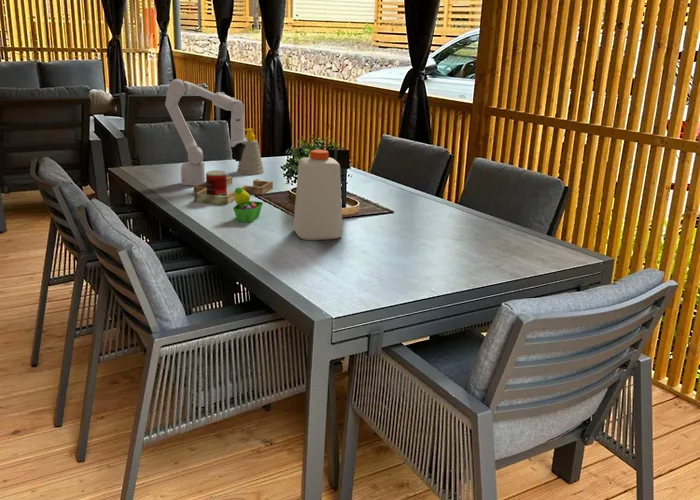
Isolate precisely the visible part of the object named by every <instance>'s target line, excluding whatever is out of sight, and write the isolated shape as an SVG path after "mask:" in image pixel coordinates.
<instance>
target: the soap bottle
mask: <svg viewBox="0 0 700 500" xmlns="http://www.w3.org/2000/svg"><path fill="white" fill-rule="evenodd" d="M245 131H247V133H246V134H245V137H246V140H247V142H243V143H242V144H246V146H245V148H244V151H243V154H242V159H241V161H238V164H237V165H238V166H237V170H236V171H237V173H238V175H244V176H258V175H262V174H264V172H265V170H264V165H263V161H262V156H261V150H260V146H259V142H258V140H257V139H256V135H255V134H254V132H253V128H245Z"/></svg>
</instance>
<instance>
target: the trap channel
mask: <svg viewBox="0 0 700 500" xmlns="http://www.w3.org/2000/svg"><path fill="white" fill-rule="evenodd" d="M226 179H227V187H228V186H230V185H232V184H233V176H228V177H226ZM273 183H274V181H268V180H259V179H258V178H255V179H254V180H252V185H243V186H241V187H240V188H242V189H243V190H244V191H246V192H247V193H248V194H249V195H250V194H251V195H258V196H259V195H260V196H263V195H265V194H267V193H268V192H270V191H271V190H273V189H274V187H273V186H274V185H273ZM234 192H235V190H234V191H232V192H230V193H228V194H227V195H226V196H218V195H208V194H207V187H206V182H204V183H202V184H200V185H198V186H193V195H194V196H193V199H194V200H193V202H195V203H203V204H205V203H206V204H207V203H208V204H216V205H225V206H227V205H229V204H231V203H232V202H233V201H235V194H234Z"/></svg>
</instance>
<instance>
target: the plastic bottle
mask: <svg viewBox="0 0 700 500" xmlns="http://www.w3.org/2000/svg"><path fill="white" fill-rule="evenodd" d="M341 183H342V182H341V165H340V163H339V162H338V161H337V160H336V159H335V158H333V157H330V154H329V151H328V150H325V149H312V150H310V153H309V157H302V158H300V159H299V160H298V167H297V180H296V192H295V204H294V215H293V225H292V226H293V227H292V228H293V230H294V232H295V233H296V235H297V237H298V238H300V239H301V240H303V241H306V240H307V241H319V240H321V241H322V240H337V239H339V238H341V237H342V236H343V217H342V216H343V210H342V208H343V207H342V186H341V185H342V184H341Z"/></svg>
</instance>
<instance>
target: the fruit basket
mask: <svg viewBox="0 0 700 500" xmlns="http://www.w3.org/2000/svg"><path fill="white" fill-rule="evenodd" d="M234 191H235V192H234V194H235V200H234V201H235V203H236V205H235V206H234V207H232V209H233V211H234V214H235V217H236V222H241V223H242V222H243V223H252V222H253V221H255V220H256V219H257V218H258V217H259V216H260V215H261V210H262V206H263V204H264V202H262V201H254V200H250V199H251V195H250V194H248V193H247V192H246V191H244V190H243V189H242V188H241V187H236V188H235V189H234Z"/></svg>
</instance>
